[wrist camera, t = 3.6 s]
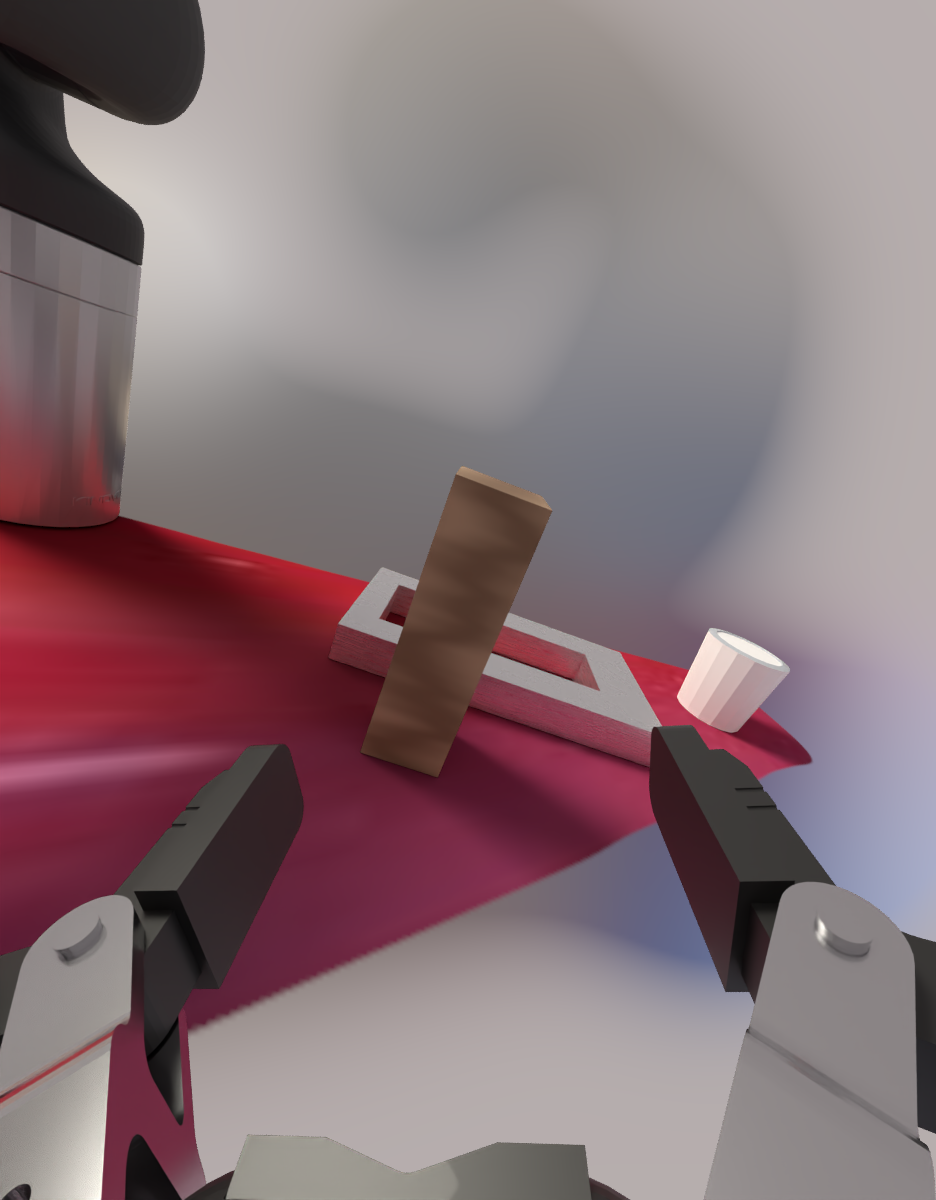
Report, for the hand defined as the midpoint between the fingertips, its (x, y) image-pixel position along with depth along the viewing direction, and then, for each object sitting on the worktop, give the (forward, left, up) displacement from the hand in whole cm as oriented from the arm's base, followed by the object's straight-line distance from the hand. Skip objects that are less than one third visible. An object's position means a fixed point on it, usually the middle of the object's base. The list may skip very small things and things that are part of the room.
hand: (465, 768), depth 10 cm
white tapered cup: (+25, +29, -10) cm, 40 cm away
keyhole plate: (+4, +23, -9) cm, 25 cm away
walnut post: (-1, +12, -9) cm, 15 cm away
